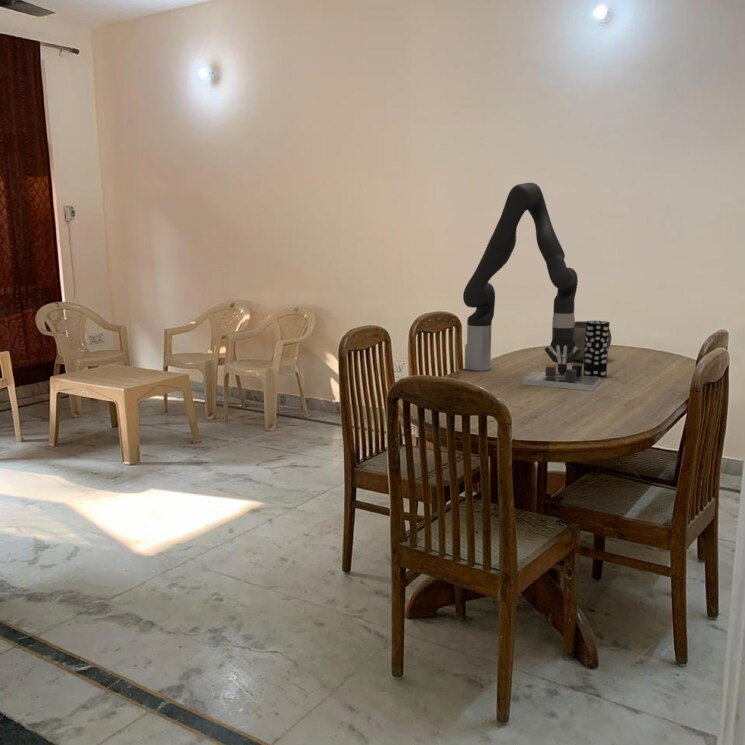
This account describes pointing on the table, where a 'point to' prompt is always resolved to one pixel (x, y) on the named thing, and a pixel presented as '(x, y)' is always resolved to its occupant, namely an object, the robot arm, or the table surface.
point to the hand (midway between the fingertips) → (562, 374)
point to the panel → (564, 379)
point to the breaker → (551, 370)
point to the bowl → (582, 339)
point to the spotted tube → (596, 348)
